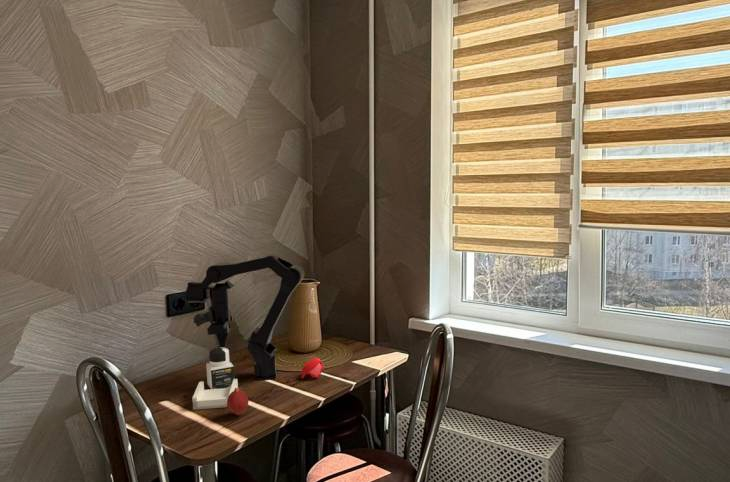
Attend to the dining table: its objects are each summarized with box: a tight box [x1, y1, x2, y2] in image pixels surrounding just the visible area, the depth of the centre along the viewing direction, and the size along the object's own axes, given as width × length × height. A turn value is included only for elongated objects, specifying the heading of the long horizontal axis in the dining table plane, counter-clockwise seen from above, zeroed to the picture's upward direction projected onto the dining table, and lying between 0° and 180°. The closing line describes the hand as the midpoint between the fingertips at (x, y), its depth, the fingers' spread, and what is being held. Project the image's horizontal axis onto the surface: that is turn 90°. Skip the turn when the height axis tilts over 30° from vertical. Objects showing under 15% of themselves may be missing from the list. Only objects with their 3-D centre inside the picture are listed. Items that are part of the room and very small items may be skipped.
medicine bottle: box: [205, 346, 235, 389], centre depth 181 cm, size 7×7×12 cm
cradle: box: [192, 378, 239, 411], centre depth 171 cm, size 11×13×4 cm
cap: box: [301, 357, 324, 380], centre depth 187 cm, size 8×6×6 cm
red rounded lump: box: [226, 387, 249, 416], centre depth 159 cm, size 6×6×8 cm
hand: (222, 348), depth 190 cm, fingers closed
